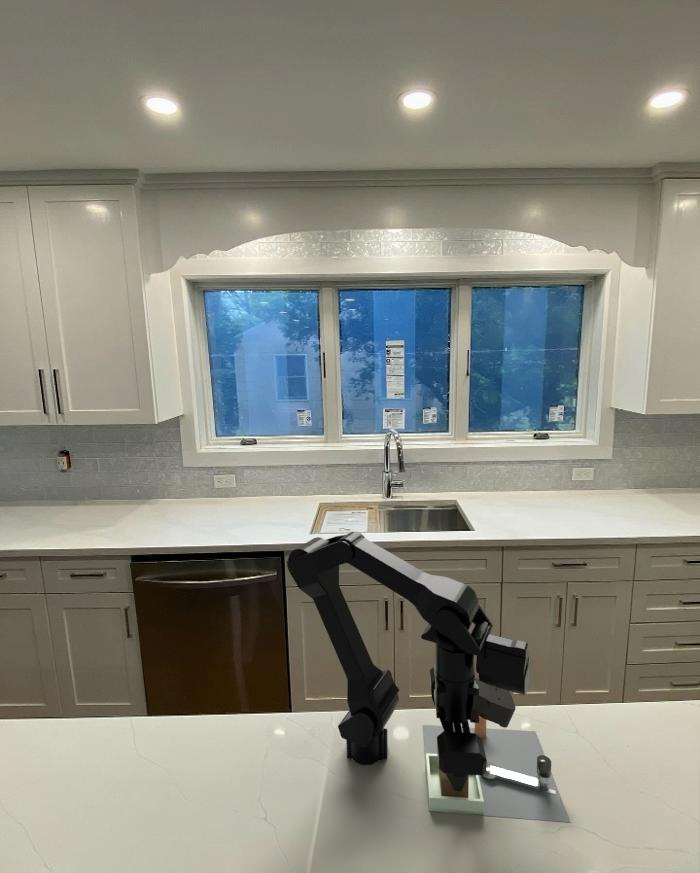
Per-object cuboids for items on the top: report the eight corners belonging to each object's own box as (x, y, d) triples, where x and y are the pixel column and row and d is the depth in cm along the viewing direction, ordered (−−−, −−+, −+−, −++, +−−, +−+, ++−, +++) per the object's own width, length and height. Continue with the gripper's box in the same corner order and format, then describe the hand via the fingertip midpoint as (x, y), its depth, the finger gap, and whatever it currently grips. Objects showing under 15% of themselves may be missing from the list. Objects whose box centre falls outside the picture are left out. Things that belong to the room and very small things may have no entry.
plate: (428, 818, 67) (428, 787, 66) (422, 730, 83) (422, 705, 82) (570, 829, 64) (571, 797, 64) (535, 737, 81) (536, 711, 80)
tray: (429, 810, 67) (429, 797, 66) (426, 765, 74) (426, 753, 74) (483, 814, 66) (483, 801, 65) (474, 768, 73) (474, 756, 73)
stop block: (468, 799, 68) (468, 757, 67) (441, 797, 68) (441, 756, 67) (464, 775, 72) (465, 736, 71) (439, 773, 72) (439, 734, 71)
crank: (479, 777, 71) (479, 750, 71) (480, 763, 74) (481, 737, 73) (550, 797, 68) (551, 770, 67) (549, 782, 70) (550, 755, 70)
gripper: (528, 721, 57) (525, 828, 59) (496, 635, 75) (495, 719, 78) (439, 716, 58) (439, 821, 60) (429, 633, 77) (429, 716, 79)
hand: (454, 763), depth 69 cm, fingers open, 9 cm apart
